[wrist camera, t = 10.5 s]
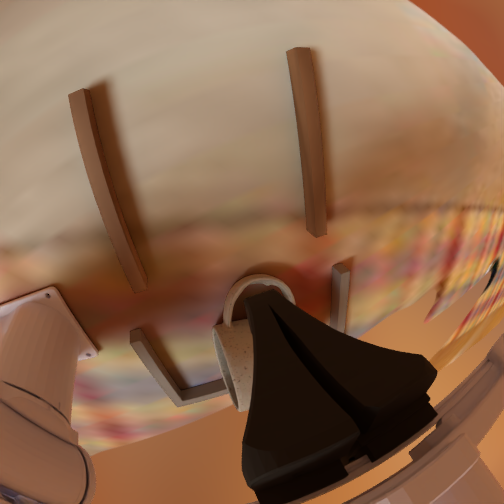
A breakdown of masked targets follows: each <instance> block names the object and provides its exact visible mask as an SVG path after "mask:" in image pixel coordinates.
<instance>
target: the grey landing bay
mask: <svg viewBox="0 0 504 504" xmlns="http://www.w3.org/2000/svg"><path fill="white" fill-rule="evenodd" d="M349 279H350V270H349V269H347V268H346V267H345V266H344V265H343V264H342V263H339V264H337V265H334V266H332V295H331V316H330V327H332V328H334V329H336V330H338V331H340V332H342V333H344V329H345V321H346V312H347V302H348V292H349ZM130 344H131V346H132V347H133V349H134V350H135V352H136V353H137V355H138V356H139V358H140V359H141V361H142V362H143V363H144V365H145V366H146V368H147V369H148V370H149V372H150V373H151V374H152V376H153V377H154V378H155V380H156V381H157V382H158V384H159V385H160V386H161V388H162V389H163V390H164V391H165V393H166V394H167V395H168V396H169V398H170V399H171V400H172V401H173V403H174V404H175V405H176V406H177V407H181V406H185V405H189V404H193V403H197V402H201V401H204V400H208V399H212V398H215V397H218V396H222V395H225V394H228V393H229V392H228V390H227V387H226V384H225V382H224V380H223V379H220V380H217V381H214V382H210V383H207V384H203V385H200V386H196V387H193V388H189V389H185V390H181V391H180V389H179V388H178V386H177V385H176V383H175V382H174V381H173V379H172V378H171V376H170V375H169V373H168V372H167V370H166V369H165V367H164V366H163V364H162V363H161V361H160V360H159V358H158V357H157V355H156V353H155V352H154V350H153V349H152V347H151V345H150V344H149V342H148V340H147V339H146V337H145V335H144V334H143V332H142V330H141V329H136V330H132V331H130Z"/></svg>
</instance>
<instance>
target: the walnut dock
mask: <svg viewBox="0 0 504 504" xmlns="http://www.w3.org/2000/svg"><path fill="white" fill-rule="evenodd" d="M286 53H287V59H288V65H289V71H290V78H291V84H292V91H293V98H294V105H295V113H296V120H297V129H298V137H299V146H300V155H301V165H302V175H303V186H304V198H305V212H306V226H307V231H308V232H310V233H311V234H312V235H313V236H314V237H316V238H317V237H320V236H323V235H327V218H326V193H325V175H324V161H323V148H322V137H321V127H320V117H319V108H318V100H317V92H316V85H315V78H314V71H313V65H312V58H311V52H310V48H303V47H296V48H293V49H291V50H288V51H286ZM68 97H69V103H70V108H71V113H72V117H73V122H74V126H75V131H76V135H77V139H78V143H79V147H80V151H81V154H82V158H83V161H84V165H85V168H86V172H87V175H88V178H89V181H90V184H91V188H92V191H93V194H94V197H95V200H96V202H97V205H98V208H99V211H100V214H101V216H102V219H103V222H104V224H105V227H106V229H107V232H108V235H109V237H110V240H111V242H112V244H113V247H114V249H115V252H116V254H117V256H118V259H119V261H120V263H121V265H122V268H123V270H124V272H125V274H126V276H127V279H128V281H129V283H130V285H131V287H132V289H133V291H134V293H138V292H142V291H145V290H147V276H146V274H145V271H144V269H143V267H142V264H141V262H140V259H139V257H138V254H137V252H136V249H135V247H134V244H133V242H132V239H131V236H130V234H129V231H128V228H127V226H126V223H125V220H124V217H123V214H122V211H121V208H120V206H119V203H118V200H117V196H116V193H115V190H114V187H113V184H112V181H111V177H110V174H109V171H108V167H107V164H106V160H105V156H104V153H103V149H102V145H101V141H100V137H99V133H98V129H97V125H96V120H95V116H94V111H93V106H92V101H91V96H90V91H89V90H87V89H84V88H83V89H80V90H78V91H76V92H73V93H71V94H69V95H68Z"/></svg>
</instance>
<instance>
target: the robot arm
mask: <svg viewBox="0 0 504 504" xmlns="http://www.w3.org/2000/svg"><path fill="white" fill-rule="evenodd" d="M47 293H48V294H49V295H50V296H49V295H47ZM244 305H245V309H246V314H247V318H248V322H249V327H250V331H251V334H252V336H253V382H252V393H251V400H250V407H249V414H248V419H247V424H246V429H245V432H244V437H243V441H242V472H243V475H244V478H245V480H246V482H247V485H248V486H249V487H250V488H251V489H253V490H254V492H255V494H256V496H257V499H258V501H255V502H252V503H248V504H301V503H304V502H306V501H309V500H311V499H314V498H316V497H318V496H320V495H323V494H325V493H327V492H330V491H332V490H334V489H336V488H338V487H340V486H342V485H344V484H346V483H348V482H350V481H352V480H354V479H355V478H357V477H359V476H361V475H363V474H364V473H366V472H368V471H370V470H371V469H373V468H375V467H376V466H378V465H380V464H381V463H383V462H384V461H386V460H388V459H389V458H391V457H392V456H394V455H395V454H397V453H398V452H399V451H401V450H402V449H404V448H405V447H407V446H408V445H409V444H411V443H412V442H414V441H415V440H416V439H417V438H419V437H420V436H421V435H423V434H424V433H425V432H426V431H428V430H429V429H430V428H431V427H432V426H434V425H435V424H436V423H437V424H436V429H435V430H434V431H433V432H431V434H429V435H428V436H427V437H425V438H424V440H422V441H421V442H420V443H419V444H418V445H417V446H416V447H414V448H413V449H412V450H411V451H409V455H410V456H411V458H412V459H413V461H412V462H411V463H409V464H408V465H406V466H405V467H404V468H402V469H401V470H399V471H398V472H396V473H395V474H393V475H392V476H390V477H389V478H387V479H385V480H384V481H382V482H381V483H379V484H377V485H376V486H374V487H372V488H370V489H369V490H367V491H365V492H363V493H362V494H360V495H358V496H356V497H354V498H353V499H350V500H348V501H346V502H344V503H342V504H504V490H503V488H502V487H501V485H500V484H499V483H498V481H497V480H496V478H495V477H494V476H493V474H492V473H491V472H490V470H489V469H488V467H487V466H486V465H485V463H484V462H483V461H482V459H481V458H480V451H479V450H478V449H477V445H478V444H479V443H480V442H481V440H482V439H483V438H484V436H485V435H486V434H487V432H488V431H489V430H490V428H491V427H492V425H493V424H494V423H495V421H496V420H497V418H498V417H499V415H500V414H501V412H502V411H503V409H504V333H503V334H502V335H501V337H500V338H499V339H498V340H497V341H496V343H495V344H494V346H492V348H491V349H490V351H489V352H488V354H487V356H486V358H485V359H484V360H483V361H482V362H481V363H480V364H479V365H478V366H477V367H476V369H474V370H473V372H472V373H471V374H470V375H469V376H468V377H467V378H466V379H465V380H464V381H463V382H462V383H461V384H459V385H458V386H457V388H455V389H454V390H453V391H452V392H451V393H450V394H449V395H448V396H447V397H446V398H444V399H443V400H442V401H441V402H440V403H439V404H438V405H436V406H435V407H434V408H433V407H432V406H431V405H430V403H429V401H430V397H429V396H428V395H427V393H426V392H427V390H428V389H429V388H430V386H431V385H432V383H433V382H434V380H435V378H436V376H437V370H436V369H435V368H434V367H433V366H432V364H431V363H430V362H429V361H428V360H427V359H426V358H425V357H423V356H422V355H419V354H412V353H406V352H400V351H395V350H391V349H387V348H383V347H379V346H376V345H373V344H370V343H367V342H364V341H361V340H358V339H356V338H353V337H351V336H348V335H346V334H344V333H342V332H340V331H338V330H336V329H334V328H332V327H330V326H328V325H326V324H324V323H323V322H321V321H319V320H317V319H316V318H314V317H313V316H311V315H309V314H308V313H306V312H305V311H303V310H302V309H300V308H299V307H297V306H296V305H295V304H293V303H292V302H290V301H289V300H288V299H286V298H285V297H284V296H282V295H281V294H280V293H279V292H277V291H276V290H274V289H273V290H270V291H267V292H264V293H261V294H258V295H255V296H252V297H248V298H246V299H245V300H244ZM89 353H90V354H89ZM97 356H98V350H97V349H96V347H95V346H94V345H93V343H92V342H91V341H90V339H89V338H88V336H87V335H86V334H85V332H84V331H83V329H82V328H81V326H80V325H79V323H78V322H77V320H76V319H75V317H74V316H73V314H72V313H71V311H70V310H69V308H68V306H67V305H66V303H65V302H64V300H63V298H62V297H61V295H60V293H59V292H58V290H57V289H56V288H55V287H48V288H46V289H43V290H40V291H37V292H34V293H32V294H29V295H26V296H23V297H21V298H18V299H15V300H13V301H10V302H7V303H4V304H2V305H0V504H91V502H92V500H93V498H94V495H95V490H96V476H95V469H94V466H93V463H92V460H91V458H90V456H89V454H88V453H87V452H86V450H85V449H83V448H82V447H81V446H80V445H78V432H76V431H75V430H73V429H72V428H71V427H70V426H71V410H72V399H73V390H74V381H75V374H76V367H77V361H80V360H85V359H89V358H93V357H97Z"/></svg>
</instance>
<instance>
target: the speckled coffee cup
mask: <svg viewBox="0 0 504 504" xmlns="http://www.w3.org/2000/svg"><path fill="white" fill-rule="evenodd" d="M257 283H260V284H265V285H267V286H269V285H274V286H277V287H279V288H280V289H281V291H282V294H283V295H284V297H285V298H286V299H288V300H289V301H290V302H292V303H293V304H295V305H296V302H295V299H294V295H293V294H292V292H291V290H290V288H289V287H288V286H287V285H286V284H285V283H284V282H283V281H281V280H280V279H278V278H275V277H273V276H270V275H266V274H254V275H250V276H247V277H244V278H242V279H241V280H239V281H237V282H236V283H235V284H234V286H233V287H232V288H231V289H230V291H229V292H228V294H227V297H226V300H225V304H224V312H223V324H219V325H215V326H214V327H213V328H212V334H213V343H214V349H215V352H216V356H217V360H218V364H219V367H220V371H221V374H222V376H223V380H224V382H225V384H226V387H227V390H228V392H229V395H230V397H231V399H232V402H233V404H234V406H235V407H236V409H237V410H238V411H240V412H242V411H246V410H249V407H250V400H251V393H252V382H253V336H252V334H251V331H250V327H249V322H248V319H243V320H238V321H233V322H231V318H232V312H233V307H234V304H235V301H236V300H237V298H238V296H239V295H240V294H241V293H242V291H243V290H244V288H246V287H247V286H248V285H249V284H257Z"/></svg>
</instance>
